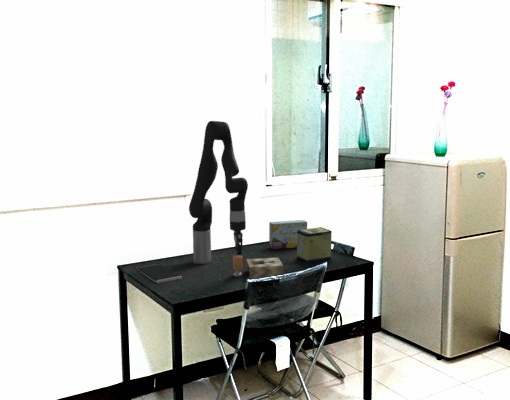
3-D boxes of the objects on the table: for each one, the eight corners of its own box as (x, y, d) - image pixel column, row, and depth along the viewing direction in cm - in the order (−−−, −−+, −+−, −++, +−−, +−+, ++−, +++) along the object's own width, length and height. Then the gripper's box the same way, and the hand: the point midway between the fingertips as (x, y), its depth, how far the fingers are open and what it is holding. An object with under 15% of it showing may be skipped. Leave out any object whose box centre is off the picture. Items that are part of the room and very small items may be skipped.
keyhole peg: (233, 277, 281) (233, 258, 280) (233, 274, 286) (232, 255, 284) (243, 276, 282) (242, 257, 280) (242, 274, 286) (241, 255, 284)
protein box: (331, 259, 310) (332, 230, 308) (306, 263, 304) (306, 233, 301) (320, 254, 320) (321, 226, 317) (296, 258, 313) (296, 229, 310)
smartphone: (160, 266, 303) (160, 263, 302) (182, 279, 280) (182, 276, 280) (136, 270, 296) (136, 267, 296) (156, 284, 273) (156, 280, 273)
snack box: (271, 249, 330) (271, 223, 328) (269, 247, 336) (268, 221, 333) (307, 246, 336) (307, 221, 333) (303, 244, 341) (304, 219, 339)
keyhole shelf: (250, 279, 277) (249, 267, 276) (246, 270, 291) (246, 259, 290) (283, 277, 280) (283, 265, 278) (278, 269, 293) (278, 257, 292)
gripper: (228, 217, 285) (229, 249, 288) (231, 223, 272) (232, 256, 274) (243, 216, 286) (244, 248, 289) (247, 222, 273) (248, 255, 275)
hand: (238, 252), depth 282 cm, fingers open, 8 cm apart
